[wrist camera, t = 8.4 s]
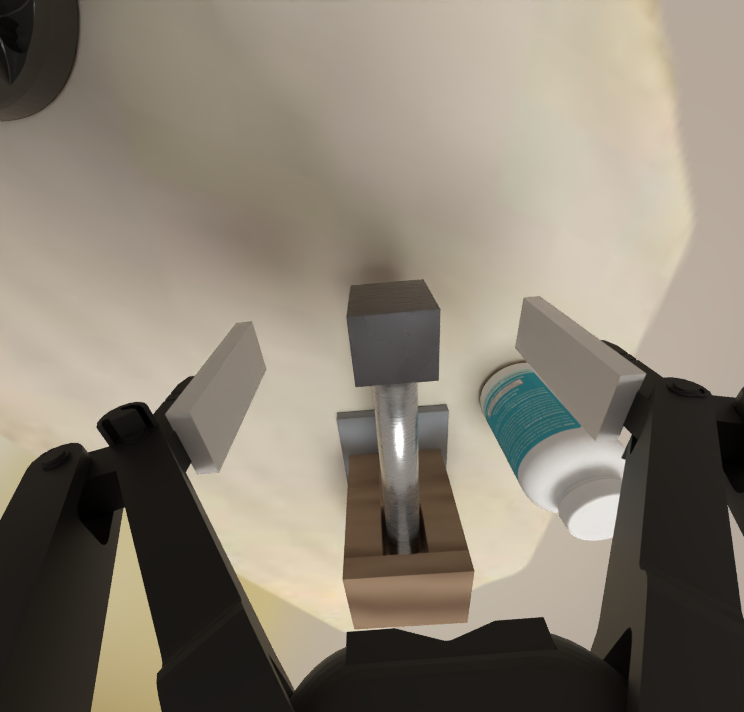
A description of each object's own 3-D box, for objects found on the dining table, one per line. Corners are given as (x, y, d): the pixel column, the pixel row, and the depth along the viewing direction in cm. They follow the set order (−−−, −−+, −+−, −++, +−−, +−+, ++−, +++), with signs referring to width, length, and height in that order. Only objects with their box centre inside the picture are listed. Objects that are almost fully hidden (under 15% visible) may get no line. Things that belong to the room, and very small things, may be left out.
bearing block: (337, 412, 32) (322, 539, 21) (446, 404, 32) (490, 528, 21) (359, 541, 43) (357, 670, 32) (441, 535, 43) (468, 664, 31)
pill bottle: (473, 422, 33) (532, 556, 22) (482, 360, 30) (559, 481, 18) (545, 419, 33) (643, 551, 22) (563, 357, 30) (693, 475, 18)
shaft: (350, 285, 19) (346, 317, 15) (423, 279, 19) (440, 309, 15) (378, 520, 31) (380, 578, 26) (424, 517, 30) (434, 574, 26)
